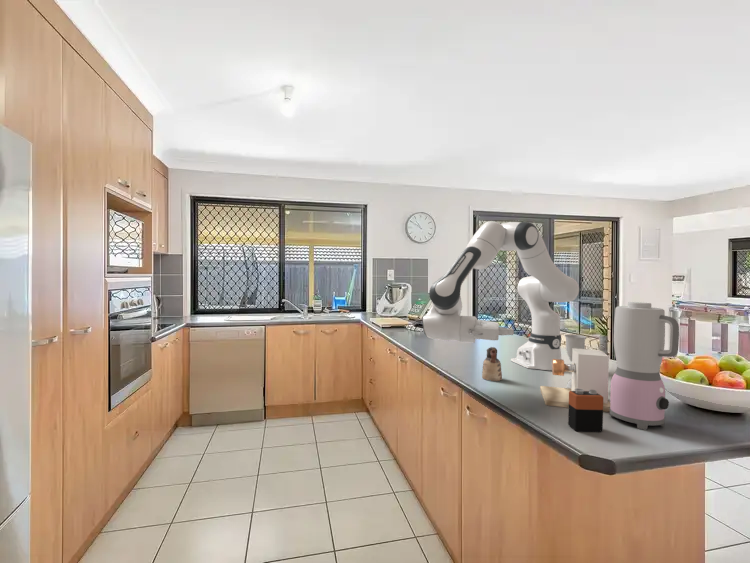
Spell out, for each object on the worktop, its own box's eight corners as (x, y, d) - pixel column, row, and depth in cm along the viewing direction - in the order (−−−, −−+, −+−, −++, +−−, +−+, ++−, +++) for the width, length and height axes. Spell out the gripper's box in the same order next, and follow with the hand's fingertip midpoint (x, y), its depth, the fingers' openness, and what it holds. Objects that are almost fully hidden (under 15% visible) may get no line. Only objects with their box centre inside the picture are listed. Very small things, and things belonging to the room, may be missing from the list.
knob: (553, 376, 120) (554, 360, 120) (551, 372, 124) (552, 357, 124) (587, 379, 117) (587, 363, 117) (583, 375, 122) (584, 359, 121)
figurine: (501, 377, 147) (501, 345, 147) (502, 382, 140) (503, 349, 140) (481, 375, 149) (482, 344, 148) (482, 380, 142) (482, 348, 142)
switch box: (577, 400, 115) (578, 354, 115) (571, 391, 125) (572, 348, 125) (607, 403, 113) (608, 356, 113) (599, 393, 123) (600, 350, 122)
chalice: (588, 391, 130) (589, 338, 130) (566, 389, 132) (567, 337, 131) (581, 385, 138) (582, 335, 137) (560, 383, 139) (562, 334, 139)
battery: (567, 425, 100) (568, 387, 100) (593, 425, 100) (594, 387, 100) (575, 432, 96) (576, 392, 96) (603, 432, 96) (604, 392, 95)
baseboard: (545, 405, 115) (545, 400, 115) (540, 390, 131) (540, 385, 131) (614, 412, 110) (614, 407, 110) (600, 396, 125) (600, 391, 125)
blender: (598, 416, 107) (601, 301, 106) (627, 410, 112) (630, 300, 111) (660, 438, 92) (663, 306, 92) (689, 431, 97) (693, 305, 97)
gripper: (467, 323, 120) (515, 325, 115) (472, 317, 139) (512, 319, 135) (467, 343, 120) (514, 346, 115) (471, 334, 139) (512, 337, 135)
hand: (513, 331), depth 125 cm, fingers closed
